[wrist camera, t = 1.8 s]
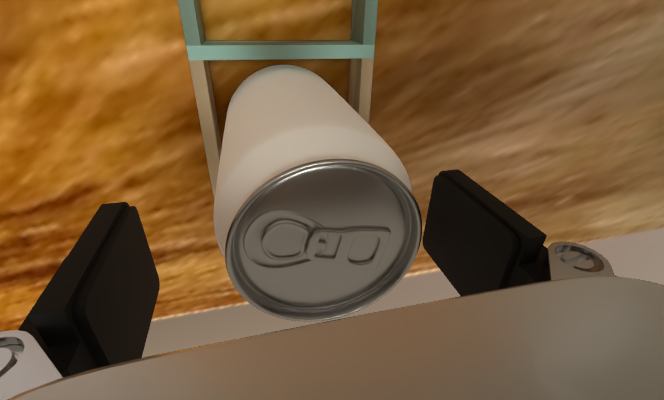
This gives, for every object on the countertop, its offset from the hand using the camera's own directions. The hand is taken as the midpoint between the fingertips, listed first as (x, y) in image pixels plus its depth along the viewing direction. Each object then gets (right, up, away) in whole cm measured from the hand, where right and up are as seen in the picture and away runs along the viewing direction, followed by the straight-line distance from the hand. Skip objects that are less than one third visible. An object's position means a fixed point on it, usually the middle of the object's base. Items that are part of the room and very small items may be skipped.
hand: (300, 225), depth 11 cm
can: (-2, +5, +9) cm, 11 cm away
